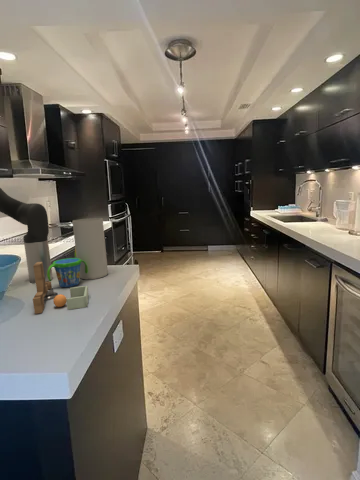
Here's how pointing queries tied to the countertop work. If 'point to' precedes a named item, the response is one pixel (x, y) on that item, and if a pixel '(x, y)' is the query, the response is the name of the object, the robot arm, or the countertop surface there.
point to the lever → (40, 288)
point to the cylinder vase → (90, 247)
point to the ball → (59, 300)
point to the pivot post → (50, 294)
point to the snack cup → (67, 271)
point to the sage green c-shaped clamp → (78, 297)
